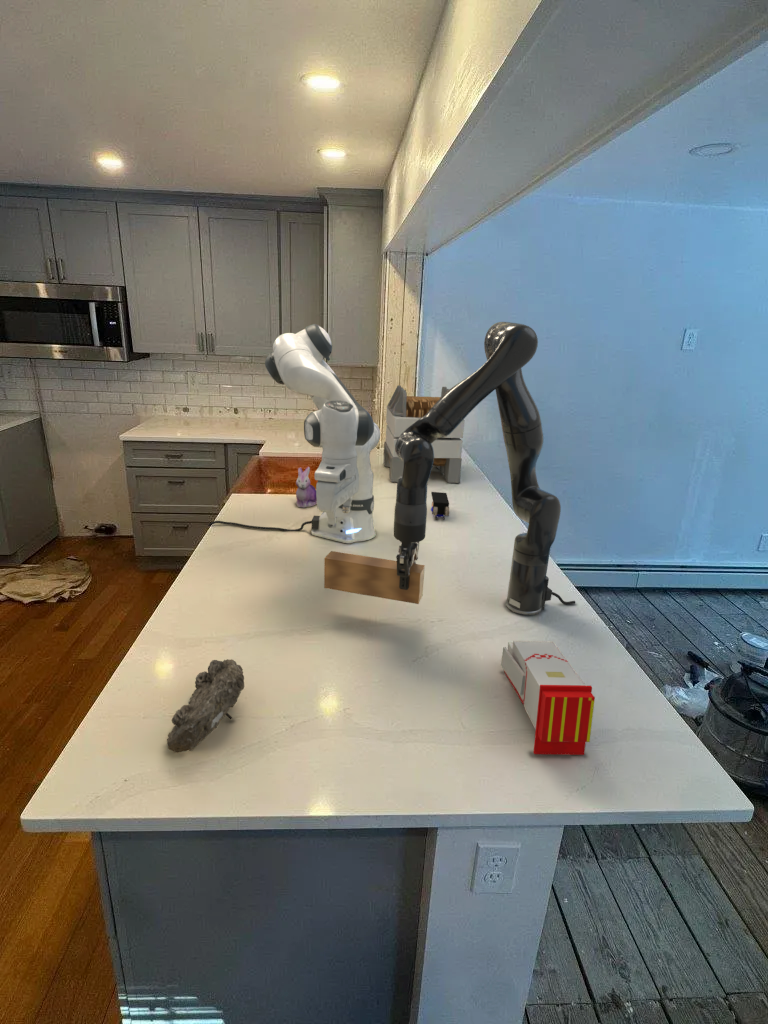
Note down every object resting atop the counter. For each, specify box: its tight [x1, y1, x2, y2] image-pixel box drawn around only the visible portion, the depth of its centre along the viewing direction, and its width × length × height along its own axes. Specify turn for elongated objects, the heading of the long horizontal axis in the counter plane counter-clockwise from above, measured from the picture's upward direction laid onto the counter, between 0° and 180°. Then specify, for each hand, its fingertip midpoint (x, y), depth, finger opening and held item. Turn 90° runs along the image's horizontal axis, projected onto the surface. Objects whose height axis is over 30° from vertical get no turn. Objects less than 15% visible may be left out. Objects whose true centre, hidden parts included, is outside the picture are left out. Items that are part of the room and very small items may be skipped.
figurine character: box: [430, 491, 450, 521], centre depth 218 cm, size 7×8×15 cm
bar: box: [323, 550, 426, 605], centre depth 140 cm, size 24×5×8 cm, turn 74°
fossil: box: [166, 658, 245, 754], centre depth 106 cm, size 22×10×15 cm
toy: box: [500, 640, 596, 756], centre depth 114 cm, size 12×13×30 cm
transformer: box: [383, 384, 465, 484], centre depth 268 cm, size 34×33×41 cm
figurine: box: [295, 466, 317, 508], centre depth 222 cm, size 9×10×15 cm
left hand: (339, 518), depth 148 cm, fingers open, 8 cm apart
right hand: (406, 583), depth 138 cm, fingers closed on bar, 4 cm apart
